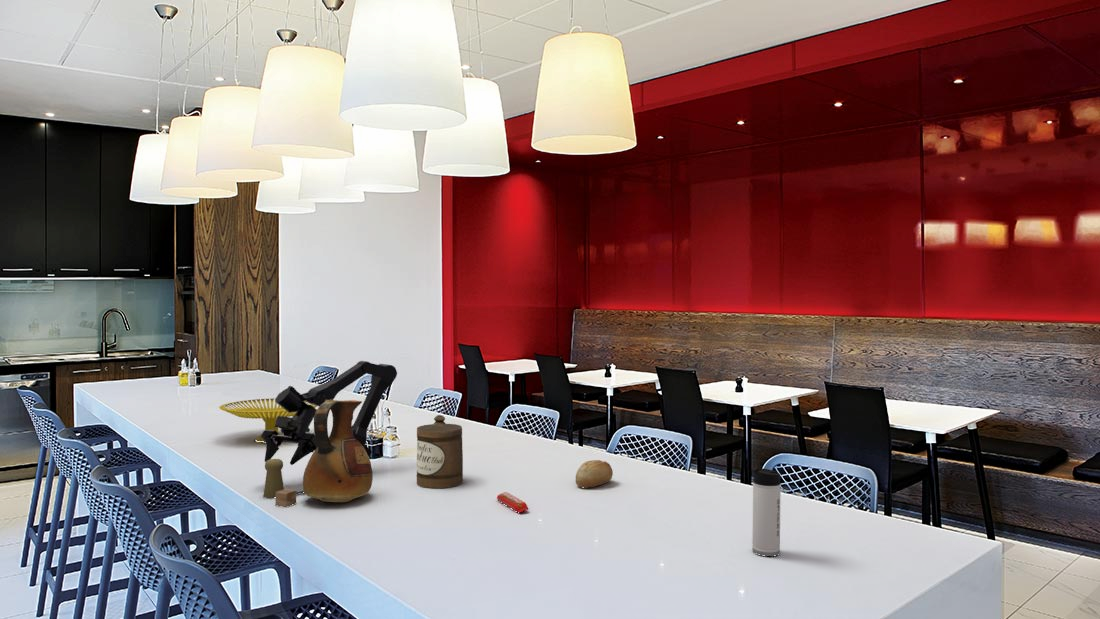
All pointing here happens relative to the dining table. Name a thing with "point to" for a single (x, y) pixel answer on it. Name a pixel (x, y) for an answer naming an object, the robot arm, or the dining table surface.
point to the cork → (273, 478)
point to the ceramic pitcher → (337, 457)
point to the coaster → (296, 488)
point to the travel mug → (766, 512)
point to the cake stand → (259, 412)
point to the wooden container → (439, 454)
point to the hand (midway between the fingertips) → (278, 463)
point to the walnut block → (285, 497)
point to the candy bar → (512, 502)
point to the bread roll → (593, 473)
